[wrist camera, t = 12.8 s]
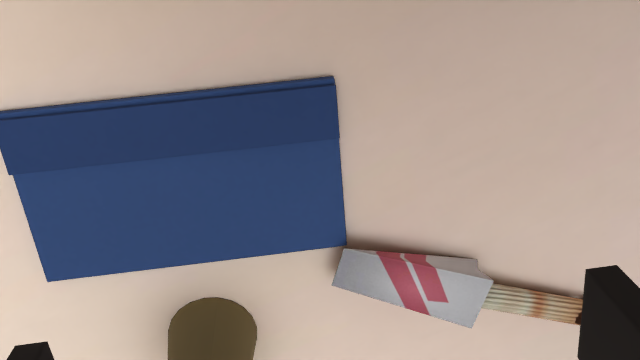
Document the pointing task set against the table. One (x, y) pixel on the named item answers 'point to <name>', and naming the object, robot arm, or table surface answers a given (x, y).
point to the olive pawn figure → (212, 331)
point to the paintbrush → (445, 287)
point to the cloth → (179, 177)
